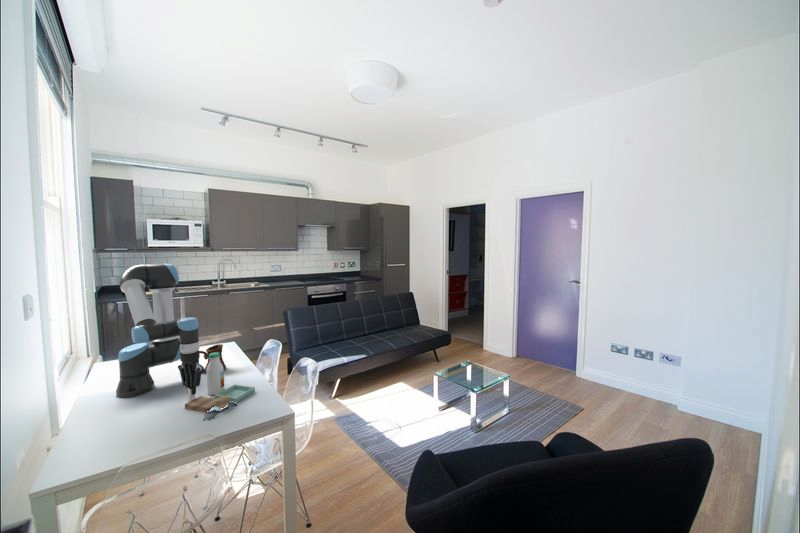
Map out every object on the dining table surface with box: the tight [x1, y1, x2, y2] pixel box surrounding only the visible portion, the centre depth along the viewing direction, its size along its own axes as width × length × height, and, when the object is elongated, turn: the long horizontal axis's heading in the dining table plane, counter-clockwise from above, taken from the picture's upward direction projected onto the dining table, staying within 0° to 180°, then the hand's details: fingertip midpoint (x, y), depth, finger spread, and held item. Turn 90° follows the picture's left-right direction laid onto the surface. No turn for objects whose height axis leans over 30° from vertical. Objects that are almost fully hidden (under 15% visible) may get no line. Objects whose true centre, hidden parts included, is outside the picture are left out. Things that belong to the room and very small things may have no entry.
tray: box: [214, 384, 256, 404], centre depth 156 cm, size 12×12×2 cm
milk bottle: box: [205, 352, 225, 396], centre depth 160 cm, size 8×8×20 cm
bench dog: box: [214, 396, 230, 408], centre depth 144 cm, size 3×5×5 cm, turn 164°
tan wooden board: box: [184, 395, 216, 414], centre depth 146 cm, size 14×8×2 cm, turn 74°
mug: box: [198, 343, 227, 374], centre depth 187 cm, size 18×12×15 cm, turn 129°
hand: (192, 400), depth 148 cm, fingers closed
